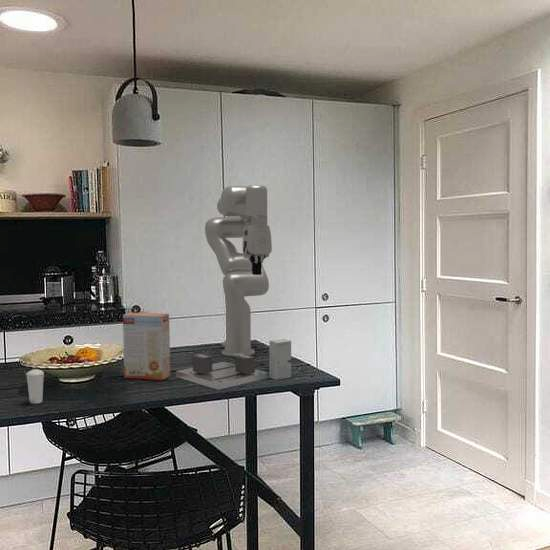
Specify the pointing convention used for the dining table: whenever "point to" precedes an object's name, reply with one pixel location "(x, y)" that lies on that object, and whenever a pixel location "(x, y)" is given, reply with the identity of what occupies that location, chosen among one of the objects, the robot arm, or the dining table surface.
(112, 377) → the dining table surface
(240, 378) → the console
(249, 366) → the fader
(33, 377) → the milkshake
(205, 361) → the fader
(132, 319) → the cracker box
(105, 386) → the dining table surface
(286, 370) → the skincare box
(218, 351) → the dining table surface
